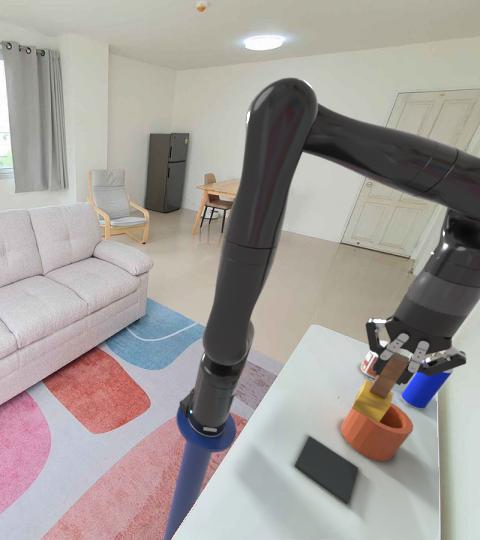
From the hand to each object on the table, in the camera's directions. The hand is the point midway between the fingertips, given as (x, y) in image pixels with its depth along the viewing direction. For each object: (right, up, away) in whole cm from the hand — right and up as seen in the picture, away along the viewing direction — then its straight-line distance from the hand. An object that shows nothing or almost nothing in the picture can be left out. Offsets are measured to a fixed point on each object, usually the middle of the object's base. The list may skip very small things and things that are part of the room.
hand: (387, 377), depth 55 cm
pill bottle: (+29, -12, +37) cm, 49 cm away
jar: (+10, -22, +17) cm, 29 cm away
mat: (-4, -24, +11) cm, 27 cm away
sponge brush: (0, -8, +4) cm, 9 cm away
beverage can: (+32, -17, +28) cm, 46 cm away
